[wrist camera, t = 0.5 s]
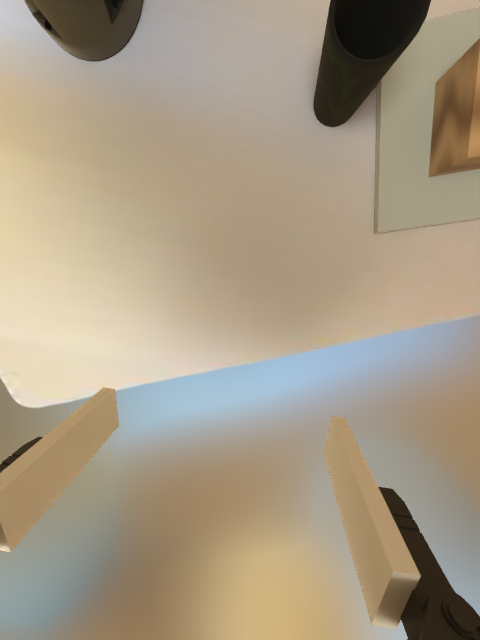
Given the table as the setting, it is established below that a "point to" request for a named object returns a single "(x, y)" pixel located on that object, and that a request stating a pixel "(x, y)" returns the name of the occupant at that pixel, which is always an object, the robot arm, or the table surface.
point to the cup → (361, 51)
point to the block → (457, 117)
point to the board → (421, 132)
